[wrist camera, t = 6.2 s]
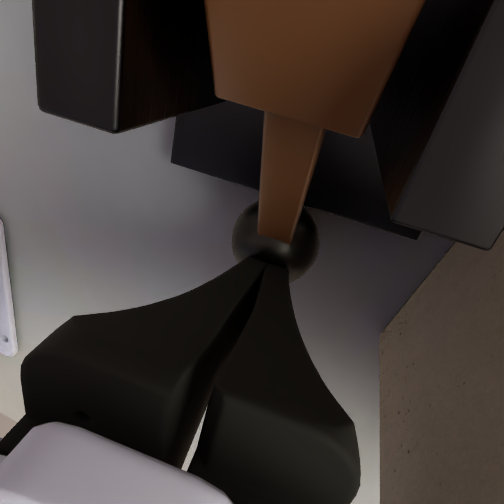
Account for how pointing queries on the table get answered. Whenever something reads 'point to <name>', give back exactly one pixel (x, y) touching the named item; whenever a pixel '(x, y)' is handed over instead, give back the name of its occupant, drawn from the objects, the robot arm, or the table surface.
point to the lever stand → (334, 144)
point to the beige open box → (446, 385)
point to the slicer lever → (301, 99)
